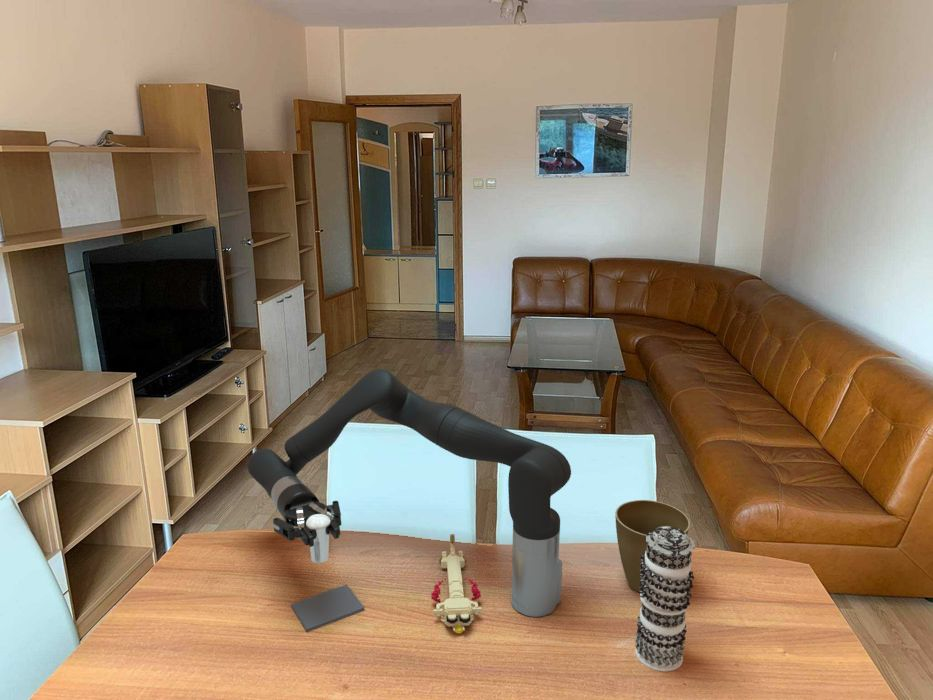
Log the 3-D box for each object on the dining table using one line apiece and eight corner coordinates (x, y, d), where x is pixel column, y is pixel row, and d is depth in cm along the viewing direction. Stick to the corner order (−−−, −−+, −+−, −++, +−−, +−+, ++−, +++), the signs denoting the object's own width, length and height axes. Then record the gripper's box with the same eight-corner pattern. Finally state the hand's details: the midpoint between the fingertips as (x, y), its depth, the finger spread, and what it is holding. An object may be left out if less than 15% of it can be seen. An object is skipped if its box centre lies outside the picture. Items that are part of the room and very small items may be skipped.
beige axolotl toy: (430, 567, 152) (432, 636, 128) (429, 531, 150) (432, 594, 126) (474, 566, 153) (485, 633, 128) (474, 530, 151) (485, 592, 126)
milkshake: (333, 566, 129) (331, 519, 127) (305, 565, 129) (303, 518, 127) (337, 552, 134) (336, 507, 131) (310, 551, 134) (308, 506, 131)
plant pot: (646, 615, 134) (652, 544, 130) (596, 576, 147) (600, 510, 142) (698, 591, 142) (706, 523, 137) (646, 556, 154) (652, 493, 149)
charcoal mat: (346, 586, 143) (346, 584, 143) (364, 610, 136) (364, 607, 136) (291, 606, 137) (291, 603, 137) (306, 632, 130) (306, 629, 129)
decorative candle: (628, 636, 128) (637, 519, 121) (677, 637, 128) (689, 520, 121) (638, 672, 120) (649, 548, 113) (691, 673, 119) (705, 549, 112)
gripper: (258, 493, 137) (286, 532, 123) (325, 475, 144) (358, 509, 130) (261, 525, 139) (289, 567, 125) (327, 506, 146) (360, 544, 132)
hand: (324, 538), depth 128 cm, fingers closed on milkshake, 4 cm apart
